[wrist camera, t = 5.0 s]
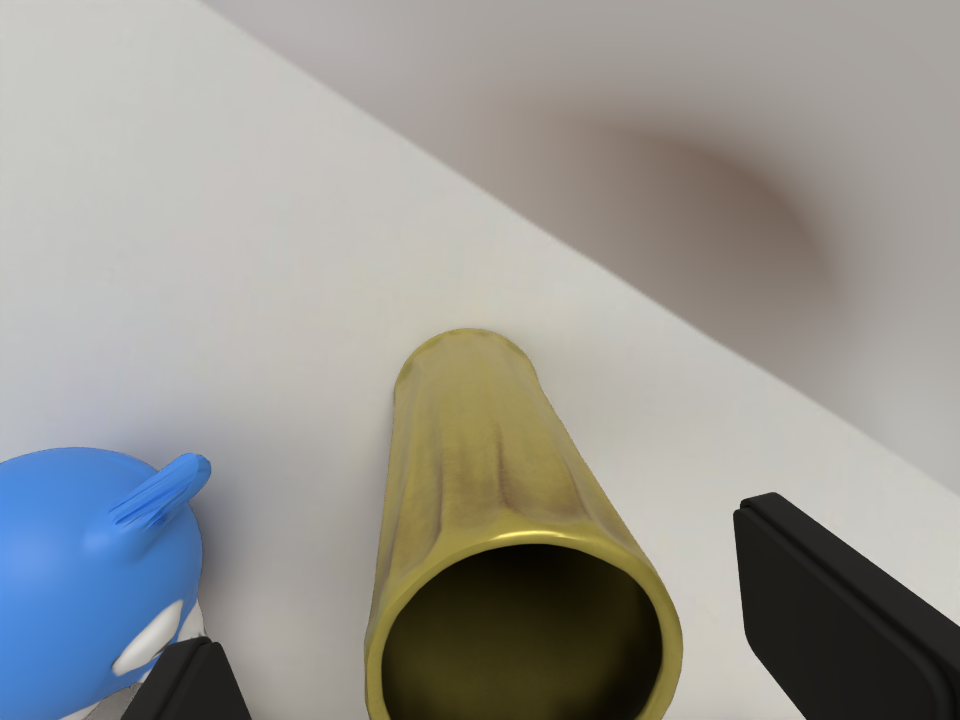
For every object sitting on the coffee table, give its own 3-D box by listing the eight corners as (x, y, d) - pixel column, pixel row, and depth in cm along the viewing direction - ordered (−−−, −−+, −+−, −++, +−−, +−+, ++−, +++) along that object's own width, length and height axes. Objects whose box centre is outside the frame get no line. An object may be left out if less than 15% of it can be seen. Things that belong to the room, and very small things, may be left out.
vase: (421, 484, 23) (405, 871, 9) (373, 353, 21) (263, 578, 7) (555, 441, 23) (743, 760, 9) (516, 308, 21) (672, 447, 8)
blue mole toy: (173, 702, 24) (43, 940, 16) (-58, 537, 21) (-357, 725, 13) (363, 540, 23) (326, 707, 15) (146, 344, 20) (-44, 420, 12)
